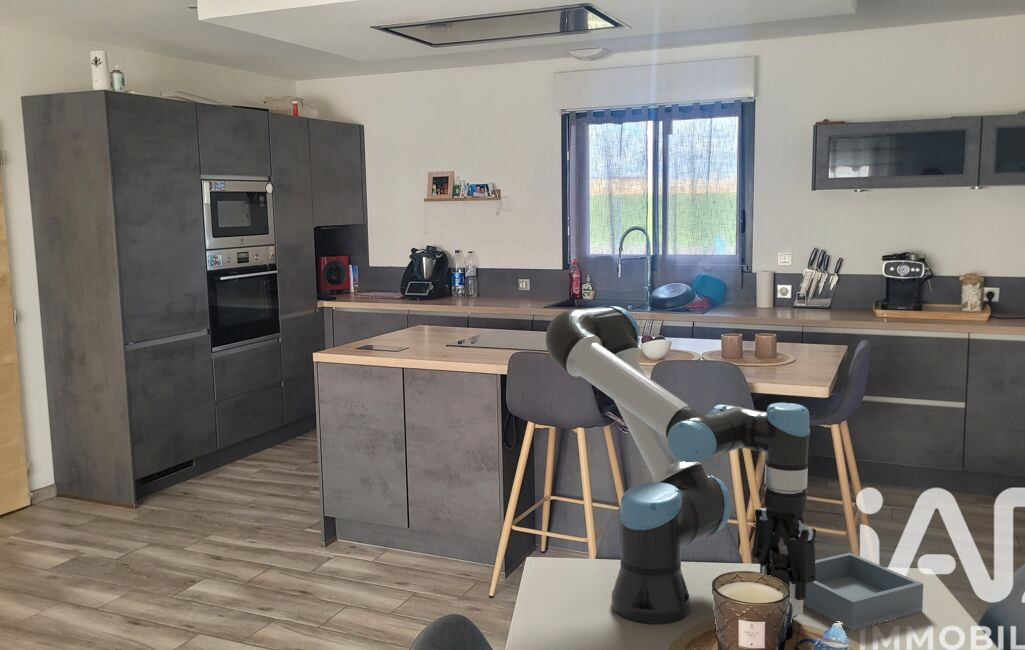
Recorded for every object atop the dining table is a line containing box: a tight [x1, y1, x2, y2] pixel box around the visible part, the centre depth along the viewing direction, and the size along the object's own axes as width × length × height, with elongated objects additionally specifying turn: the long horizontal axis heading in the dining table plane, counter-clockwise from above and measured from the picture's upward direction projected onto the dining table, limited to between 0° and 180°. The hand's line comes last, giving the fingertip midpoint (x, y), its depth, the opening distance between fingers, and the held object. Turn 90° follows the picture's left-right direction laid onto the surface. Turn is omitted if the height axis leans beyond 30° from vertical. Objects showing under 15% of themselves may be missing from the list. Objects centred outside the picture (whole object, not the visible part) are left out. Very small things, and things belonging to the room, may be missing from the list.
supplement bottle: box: [764, 545, 801, 619], centre depth 160 cm, size 7×7×12 cm
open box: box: [803, 552, 924, 632], centre depth 167 cm, size 18×18×6 cm
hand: (781, 605), depth 161 cm, fingers closed on supplement bottle, 7 cm apart
